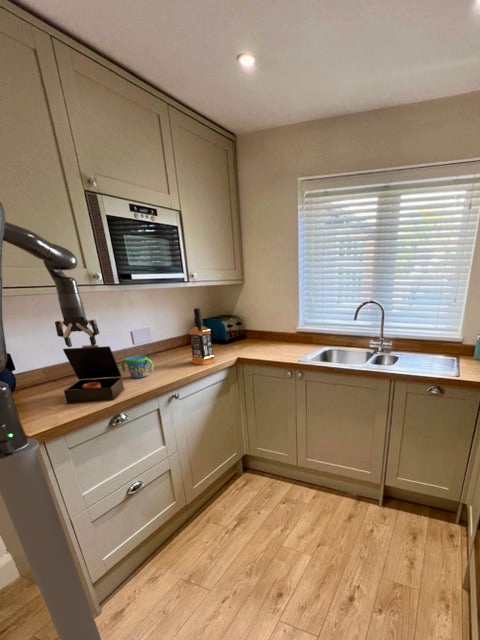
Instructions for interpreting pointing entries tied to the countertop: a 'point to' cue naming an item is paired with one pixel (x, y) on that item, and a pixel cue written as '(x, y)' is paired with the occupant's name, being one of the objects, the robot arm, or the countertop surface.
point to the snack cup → (137, 366)
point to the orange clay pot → (92, 385)
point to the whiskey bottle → (201, 341)
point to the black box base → (94, 390)
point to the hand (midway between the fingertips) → (81, 346)
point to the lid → (92, 362)
